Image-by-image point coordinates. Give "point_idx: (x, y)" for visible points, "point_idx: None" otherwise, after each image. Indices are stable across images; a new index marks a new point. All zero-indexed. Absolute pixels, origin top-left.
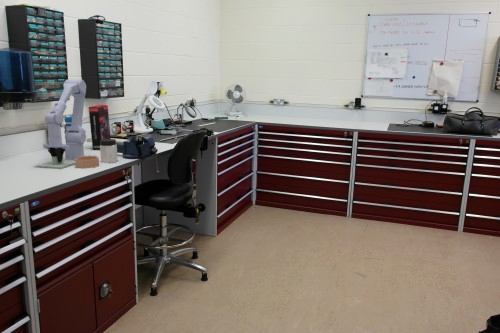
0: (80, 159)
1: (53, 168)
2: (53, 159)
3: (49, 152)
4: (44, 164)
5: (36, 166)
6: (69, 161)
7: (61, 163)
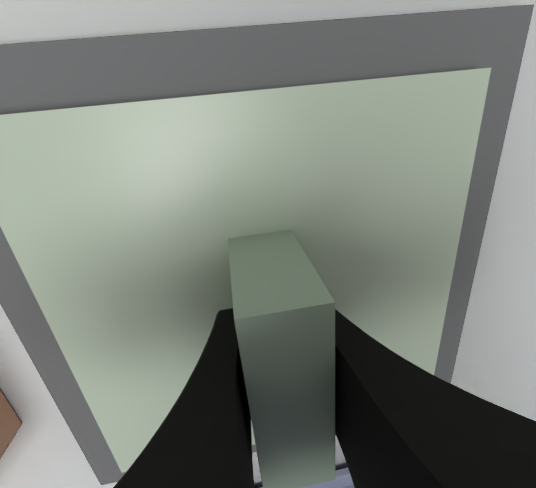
0: None
1: (78, 45)
2: (275, 276)
3: (496, 409)
4: (413, 183)
5: (490, 75)
6: None
7: None
